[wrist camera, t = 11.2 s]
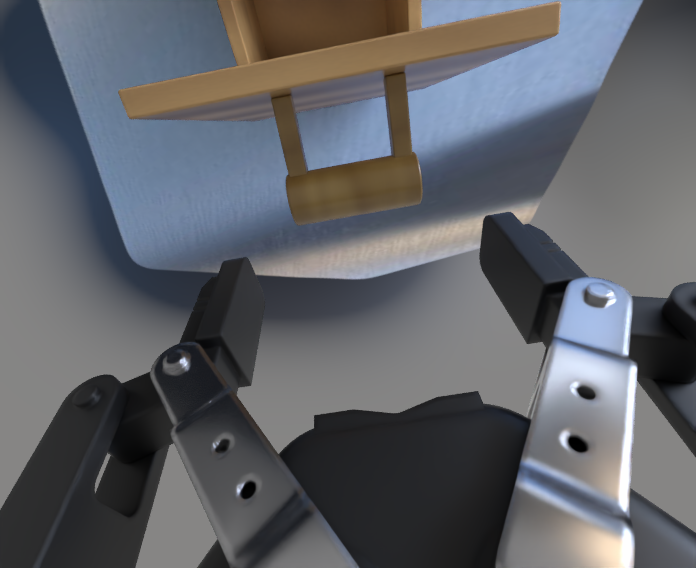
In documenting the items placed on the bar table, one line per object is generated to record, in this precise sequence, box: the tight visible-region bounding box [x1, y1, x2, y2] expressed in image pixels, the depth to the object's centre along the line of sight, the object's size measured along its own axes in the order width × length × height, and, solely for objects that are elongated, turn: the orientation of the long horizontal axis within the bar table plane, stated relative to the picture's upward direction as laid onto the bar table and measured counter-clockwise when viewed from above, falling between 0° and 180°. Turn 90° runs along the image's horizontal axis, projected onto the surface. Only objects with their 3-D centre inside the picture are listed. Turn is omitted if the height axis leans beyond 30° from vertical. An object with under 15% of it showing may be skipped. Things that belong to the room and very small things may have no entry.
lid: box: [118, 1, 561, 225], centre depth 18 cm, size 17×13×5 cm
